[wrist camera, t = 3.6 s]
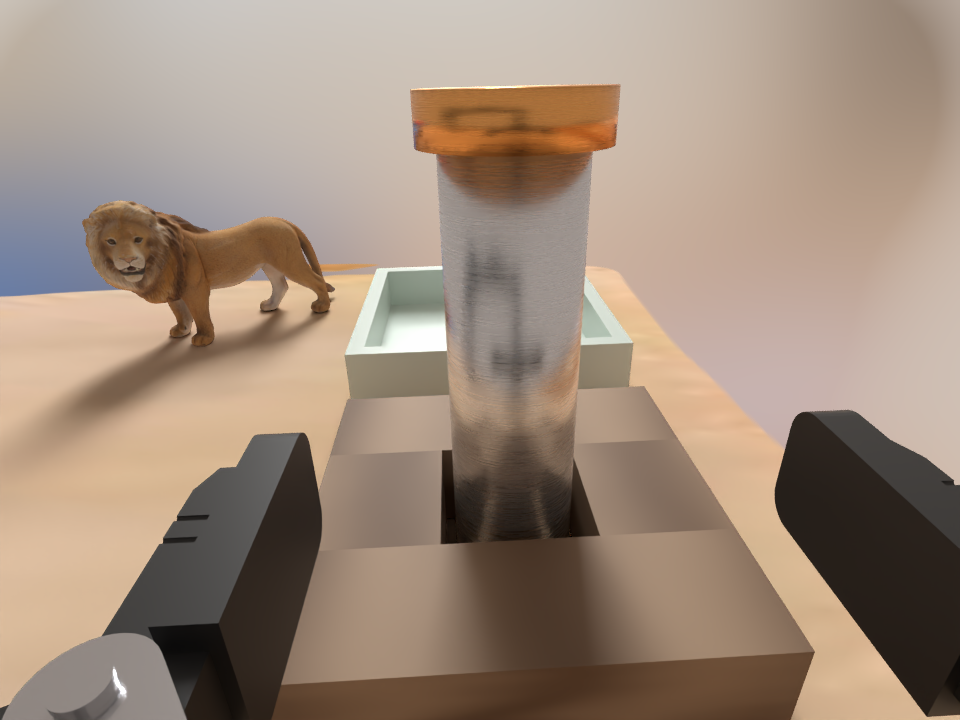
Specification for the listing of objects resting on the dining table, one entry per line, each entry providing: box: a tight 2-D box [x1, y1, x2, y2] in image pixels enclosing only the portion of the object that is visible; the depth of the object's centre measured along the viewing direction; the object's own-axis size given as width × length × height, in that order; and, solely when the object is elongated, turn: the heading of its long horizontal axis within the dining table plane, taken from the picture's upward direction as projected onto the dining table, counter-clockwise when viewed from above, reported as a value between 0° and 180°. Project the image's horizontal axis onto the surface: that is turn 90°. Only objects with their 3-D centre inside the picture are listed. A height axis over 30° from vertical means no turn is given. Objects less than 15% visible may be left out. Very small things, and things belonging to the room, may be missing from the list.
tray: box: [345, 266, 633, 399], centre depth 33 cm, size 14×14×3 cm
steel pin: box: [410, 84, 620, 543], centre depth 16 cm, size 5×5×14 cm
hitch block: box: [271, 386, 815, 720], centre depth 18 cm, size 12×12×3 cm
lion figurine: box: [82, 200, 335, 346], centre depth 36 cm, size 15×5×9 cm, turn 139°
